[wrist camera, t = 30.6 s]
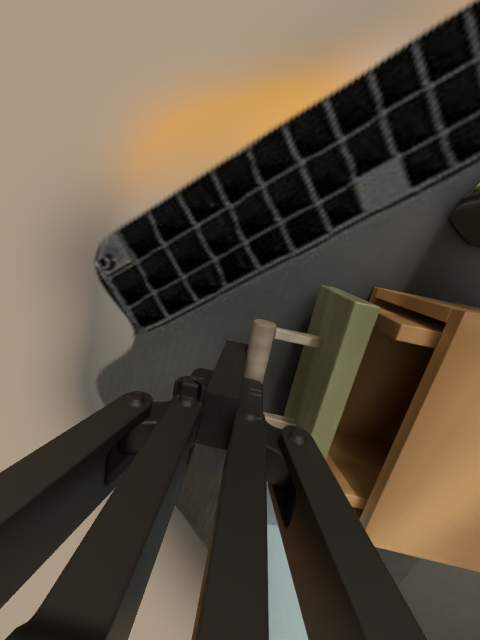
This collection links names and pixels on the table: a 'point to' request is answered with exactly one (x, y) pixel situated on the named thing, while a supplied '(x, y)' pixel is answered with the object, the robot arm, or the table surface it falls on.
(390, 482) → the cabinet
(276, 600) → the bottle
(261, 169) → the table surface
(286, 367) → the table surface
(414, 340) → the drawer
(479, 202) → the card reader
